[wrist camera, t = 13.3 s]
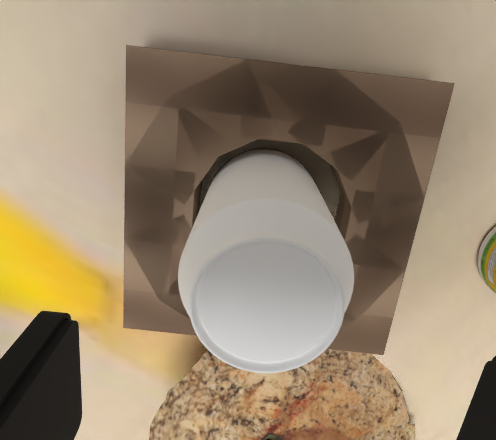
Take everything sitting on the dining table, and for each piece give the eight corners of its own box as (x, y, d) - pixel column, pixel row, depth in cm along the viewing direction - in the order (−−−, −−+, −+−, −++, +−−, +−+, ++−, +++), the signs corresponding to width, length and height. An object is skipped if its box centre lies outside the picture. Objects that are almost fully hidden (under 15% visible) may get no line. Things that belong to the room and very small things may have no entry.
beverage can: (201, 151, 24) (151, 226, 12) (313, 139, 23) (365, 206, 12) (216, 252, 26) (184, 396, 14) (319, 243, 25) (368, 383, 14)
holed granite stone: (365, 292, 34) (440, 324, 27) (352, 462, 35) (421, 536, 28) (133, 308, 27) (151, 356, 20) (129, 516, 29) (144, 630, 21)
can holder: (143, 48, 22) (126, 45, 19) (429, 81, 22) (454, 83, 19) (137, 300, 27) (123, 327, 24) (370, 325, 27) (383, 354, 24)
